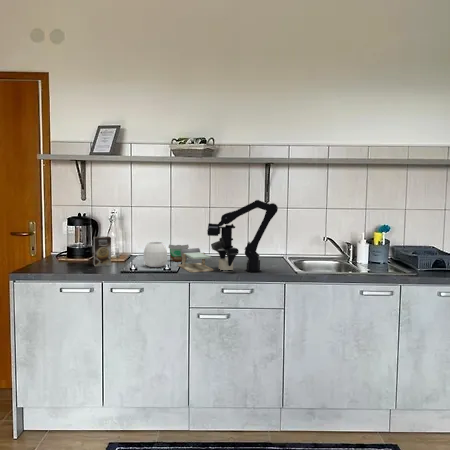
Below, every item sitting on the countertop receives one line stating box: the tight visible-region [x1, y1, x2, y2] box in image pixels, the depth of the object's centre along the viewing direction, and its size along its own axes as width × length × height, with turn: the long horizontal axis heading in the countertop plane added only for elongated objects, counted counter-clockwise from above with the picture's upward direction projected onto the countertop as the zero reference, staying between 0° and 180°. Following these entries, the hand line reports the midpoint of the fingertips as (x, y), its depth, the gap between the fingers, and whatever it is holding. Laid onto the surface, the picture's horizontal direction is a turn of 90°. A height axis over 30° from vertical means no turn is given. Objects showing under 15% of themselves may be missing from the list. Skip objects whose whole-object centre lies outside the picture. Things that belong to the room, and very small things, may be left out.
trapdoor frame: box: [177, 252, 214, 273], centre depth 262 cm, size 13×20×8 cm
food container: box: [167, 243, 190, 263], centre depth 284 cm, size 12×6×10 cm, turn 101°
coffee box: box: [93, 236, 112, 267], centre depth 266 cm, size 9×6×16 cm
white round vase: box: [143, 241, 168, 268], centre depth 266 cm, size 13×13×14 cm
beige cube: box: [218, 257, 234, 271], centre depth 260 cm, size 6×6×6 cm
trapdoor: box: [181, 247, 212, 260], centre depth 262 cm, size 10×20×5 cm, turn 25°
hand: (226, 264), depth 260 cm, fingers open, 9 cm apart
